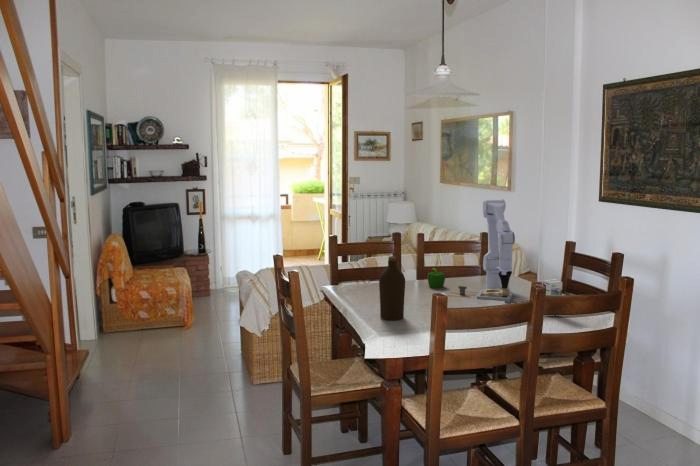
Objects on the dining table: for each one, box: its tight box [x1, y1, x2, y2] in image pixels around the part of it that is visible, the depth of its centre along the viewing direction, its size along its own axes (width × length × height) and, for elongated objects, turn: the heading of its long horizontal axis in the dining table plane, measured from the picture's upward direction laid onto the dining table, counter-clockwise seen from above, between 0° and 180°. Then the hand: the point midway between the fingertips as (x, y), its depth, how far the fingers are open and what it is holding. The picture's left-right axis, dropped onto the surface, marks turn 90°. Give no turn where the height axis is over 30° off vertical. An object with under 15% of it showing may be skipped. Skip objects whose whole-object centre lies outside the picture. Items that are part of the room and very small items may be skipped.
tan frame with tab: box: [481, 284, 510, 298], centre depth 284 cm, size 12×9×6 cm
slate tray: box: [476, 289, 513, 304], centre depth 285 cm, size 14×14×2 cm
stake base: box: [447, 285, 479, 299], centre depth 289 cm, size 12×12×5 cm
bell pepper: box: [427, 267, 446, 289], centre depth 305 cm, size 8×8×10 cm
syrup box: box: [542, 278, 563, 296], centre depth 254 cm, size 6×6×14 cm
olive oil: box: [378, 255, 406, 321], centre depth 250 cm, size 11×11×25 cm
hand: (504, 287), depth 283 cm, fingers closed on tan frame with tab, 2 cm apart
